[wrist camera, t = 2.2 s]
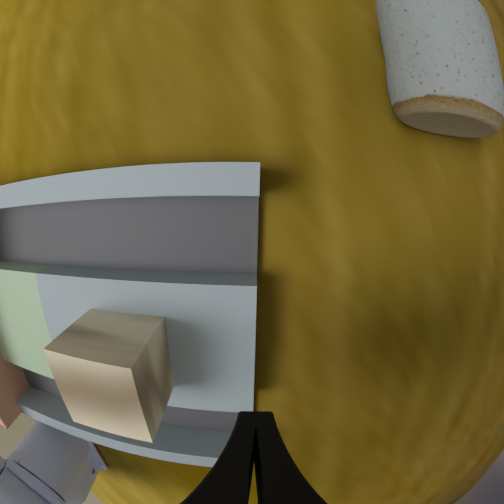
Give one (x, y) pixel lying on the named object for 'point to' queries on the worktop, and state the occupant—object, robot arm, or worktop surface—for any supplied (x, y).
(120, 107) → the worktop surface
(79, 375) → the birch block
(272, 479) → the robot arm
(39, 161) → the worktop surface
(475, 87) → the ceramic mug
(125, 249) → the box
